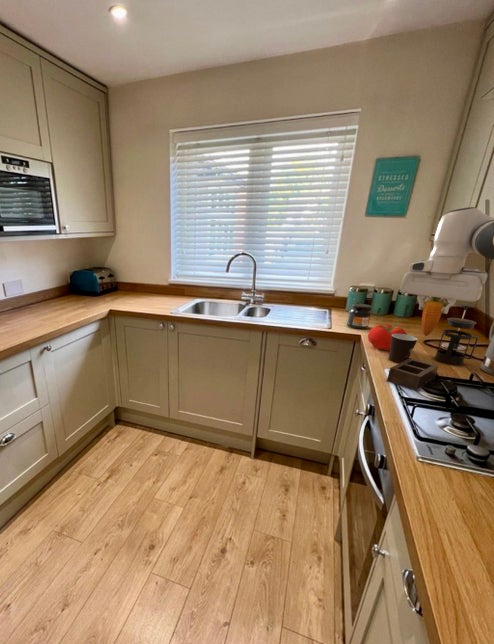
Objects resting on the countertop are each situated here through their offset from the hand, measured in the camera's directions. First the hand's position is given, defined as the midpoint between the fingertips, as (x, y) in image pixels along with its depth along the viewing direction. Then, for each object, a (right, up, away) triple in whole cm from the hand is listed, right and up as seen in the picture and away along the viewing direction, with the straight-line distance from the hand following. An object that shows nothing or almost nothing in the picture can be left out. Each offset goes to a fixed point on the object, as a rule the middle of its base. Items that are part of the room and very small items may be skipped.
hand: (432, 311), depth 104 cm
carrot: (0, -8, +3) cm, 8 cm away
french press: (+29, -17, +29) cm, 44 cm away
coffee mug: (+9, -16, +29) cm, 34 cm away
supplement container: (+16, +1, +75) cm, 76 cm away
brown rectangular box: (+1, -23, +11) cm, 25 cm away
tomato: (+11, -11, +43) cm, 45 cm away
